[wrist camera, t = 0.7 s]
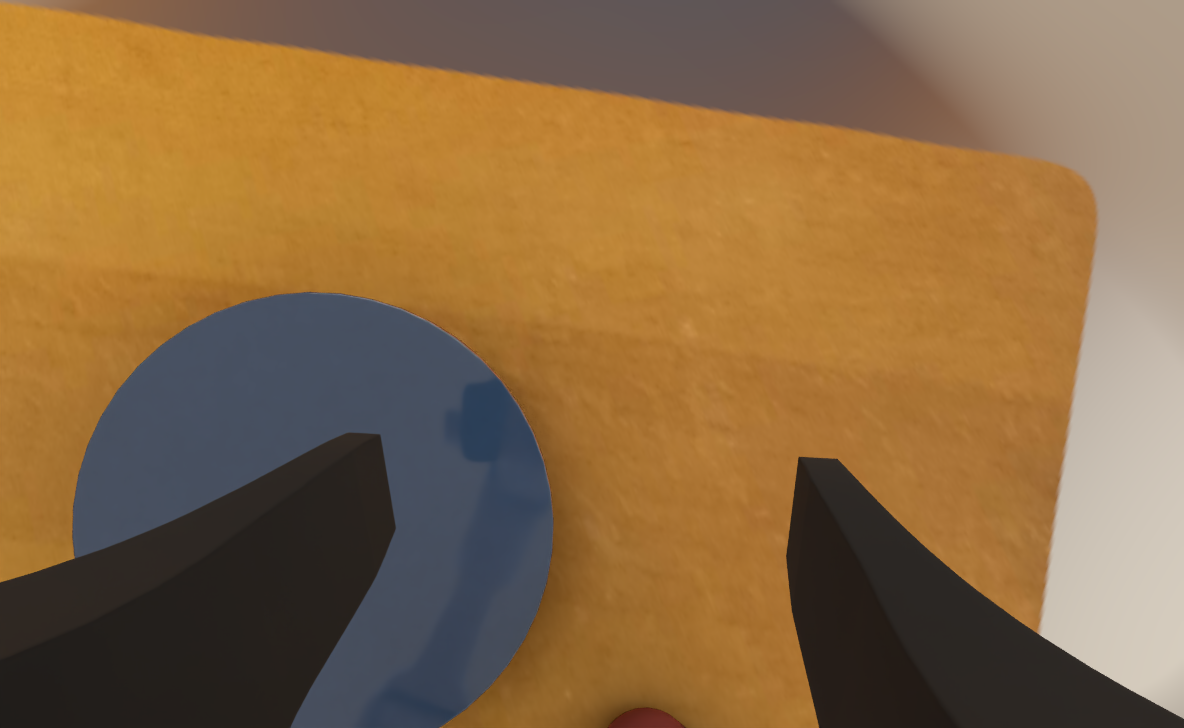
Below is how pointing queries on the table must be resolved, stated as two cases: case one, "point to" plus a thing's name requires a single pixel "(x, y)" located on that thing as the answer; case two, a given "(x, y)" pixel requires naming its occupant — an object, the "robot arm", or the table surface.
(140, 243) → the table surface
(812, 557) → the robot arm
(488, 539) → the lid
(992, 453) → the table surface
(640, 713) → the sweet potato
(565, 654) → the table surface
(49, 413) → the table surface
